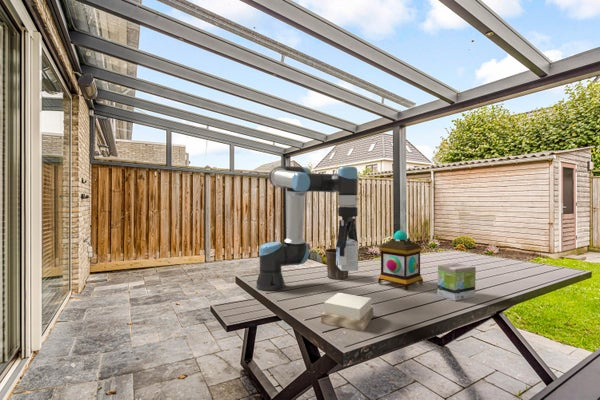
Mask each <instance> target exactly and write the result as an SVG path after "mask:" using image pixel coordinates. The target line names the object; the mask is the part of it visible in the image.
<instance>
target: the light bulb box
mask: <svg viewBox="0 0 600 400" xmlns="http://www.w3.org/2000/svg"><path fill="white" fill-rule="evenodd" d="M337 239H338V238H336V240H335V243H336V244H335V245H337ZM335 247H336V246H335ZM346 247H347V265H339V247H336V248H335V249H336V265H337V266H338V268H339V269H340V270H341V271H348V272H352V271H353V272H355V271H357V272H358V271H359V241H358V242H357V241H355V240H353V239H349V238H347V242H346Z"/></svg>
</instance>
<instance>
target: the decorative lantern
mask: <svg viewBox="0 0 600 400" xmlns="http://www.w3.org/2000/svg"><path fill="white" fill-rule="evenodd" d="M378 249H379V250H380V274H379V276H378V278H377V279H378V280H377V281H378V282H377V283H378V285H382V282H383V281H385V282H389V283H392V284H393V283H394V284H397V285H402V286H404V290H405V291H406V292H407V291H408V290H409V286H411V285H413V284H415V283H418V282H419V285H420V286H423V284H424V279H423V276H422V274H421V252H422V250H423V247H422V246H421V245H420V244H418V243H415V242H413V241H412V240H411V239H410V238H408V235H407V233H406V232H405V231H403V230H398V231H396V232H395V233H394V234H393V238H391V240H388V242H385V243H382V244H381V245H380V246H379V247H378Z"/></svg>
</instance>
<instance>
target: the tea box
mask: <svg viewBox="0 0 600 400" xmlns="http://www.w3.org/2000/svg"><path fill="white" fill-rule="evenodd" d="M437 266H438V267H437V292H436V293H437V294H436V296H439V297H441V298H443V299H447V300H451V301H454V302H456V301H459V300H464V299H469V298H475V297H476V275H477V274H476V270H477V269H476V267H475V266H472V265H468V264H463V263H462V264H461V263H450V264H444V265H443V264H442V265H437Z"/></svg>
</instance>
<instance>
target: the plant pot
mask: <svg viewBox="0 0 600 400" xmlns="http://www.w3.org/2000/svg"><path fill="white" fill-rule="evenodd" d="M324 252H325V258H326V259H325V261H326V272H327V277H328V279H332V280H336V281H337V280H339V281H340V280H346V279H348V278H349V271H341V270H340V269H339V268H338V266H337V265H336V248H326V249H324Z"/></svg>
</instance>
